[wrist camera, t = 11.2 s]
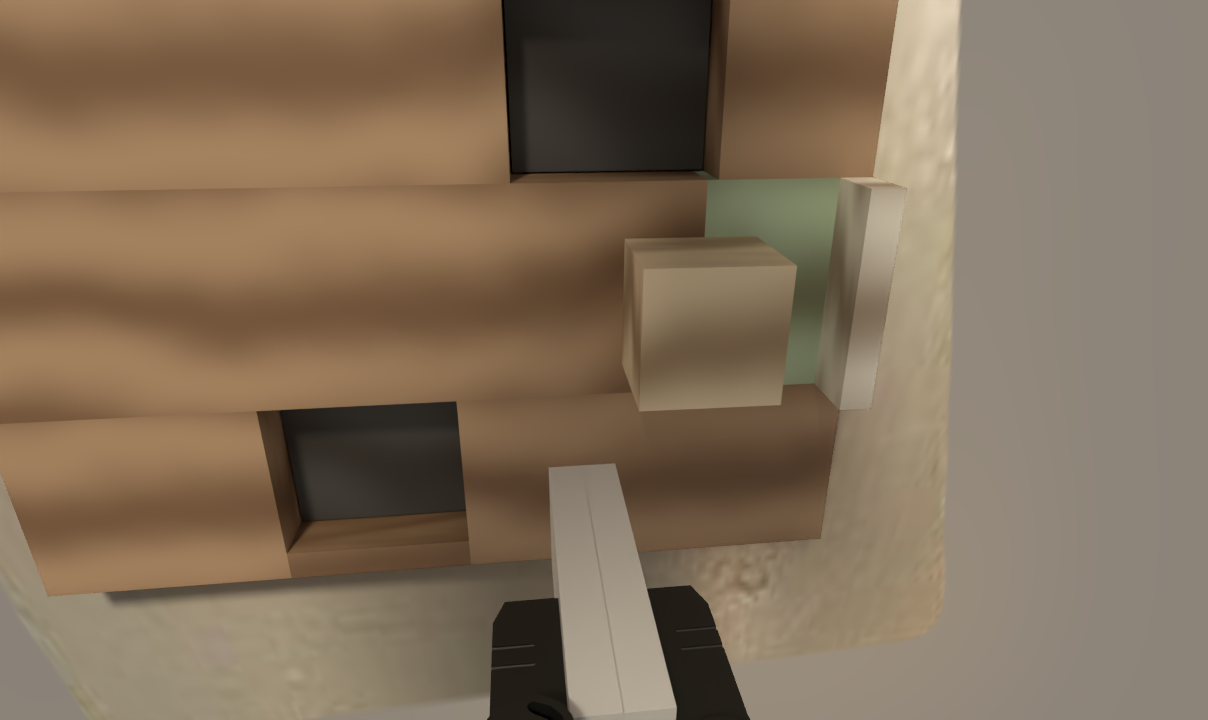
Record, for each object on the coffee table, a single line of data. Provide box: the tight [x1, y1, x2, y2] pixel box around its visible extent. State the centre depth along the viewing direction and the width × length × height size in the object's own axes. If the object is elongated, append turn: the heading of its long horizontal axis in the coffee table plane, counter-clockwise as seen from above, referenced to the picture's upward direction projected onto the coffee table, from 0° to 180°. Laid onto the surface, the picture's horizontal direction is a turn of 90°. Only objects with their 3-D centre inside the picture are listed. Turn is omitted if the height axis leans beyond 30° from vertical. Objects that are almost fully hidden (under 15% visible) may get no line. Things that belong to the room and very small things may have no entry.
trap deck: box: [0, 0, 907, 596], centre depth 31 cm, size 29×40×6 cm
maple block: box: [622, 236, 797, 412], centre depth 30 cm, size 6×6×5 cm
